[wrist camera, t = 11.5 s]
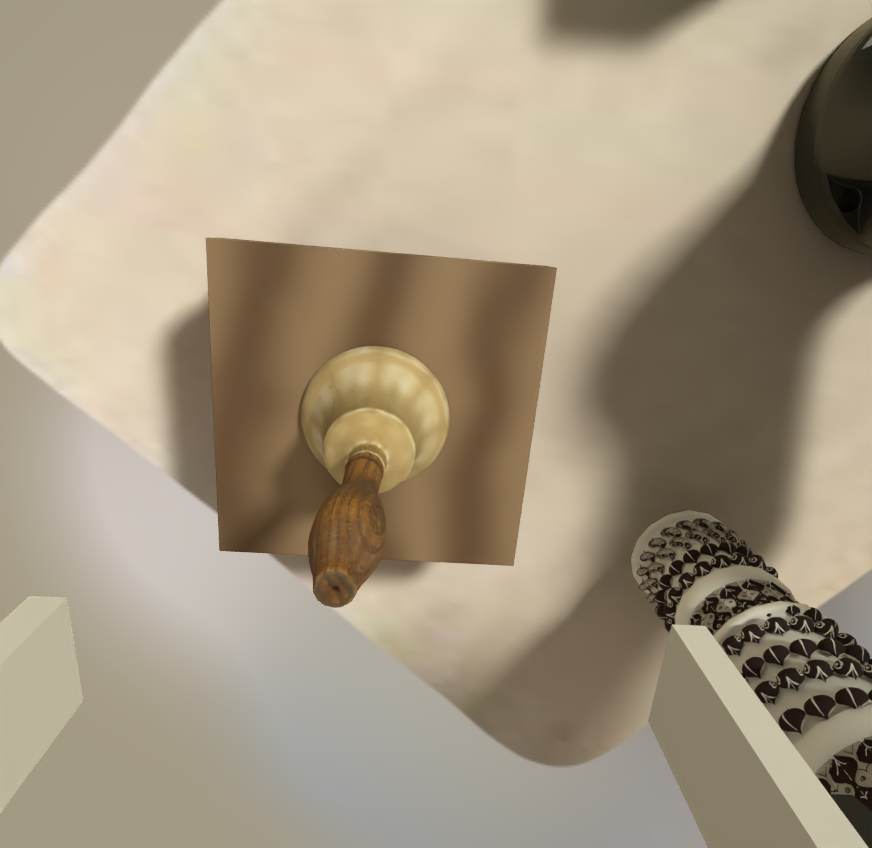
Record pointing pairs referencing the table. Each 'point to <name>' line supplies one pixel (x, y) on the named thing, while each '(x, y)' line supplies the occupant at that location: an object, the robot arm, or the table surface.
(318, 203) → the table surface
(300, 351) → the walnut stool
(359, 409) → the hand bell
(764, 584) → the decorative candle
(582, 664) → the table surface
